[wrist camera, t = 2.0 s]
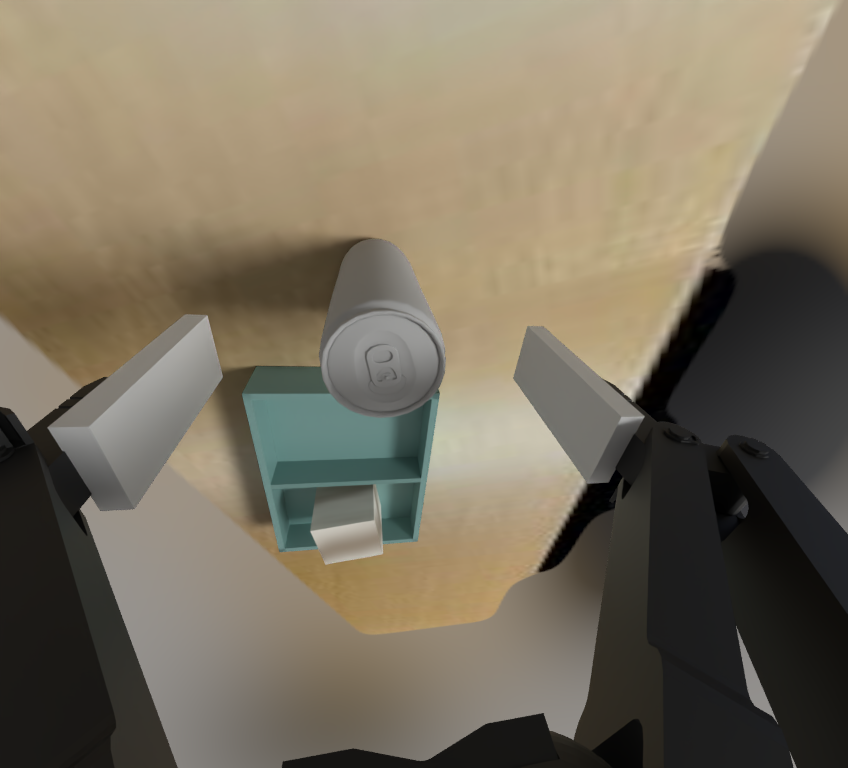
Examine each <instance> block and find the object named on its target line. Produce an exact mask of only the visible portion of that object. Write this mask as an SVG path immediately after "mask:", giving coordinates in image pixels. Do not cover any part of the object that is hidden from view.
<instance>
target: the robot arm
mask: <svg viewBox="0 0 848 768" xmlns="http://www.w3.org/2000/svg"><path fill="white" fill-rule="evenodd" d="M222 378H223V375H222V371H221V367H220V363H219V359H218V355H217V351H216V347H215V344H214V340H213V336H212V332H211V328H210V324H209V320H208V316H207V315H190V314H185V315H184V316H182V317H181V318H180V319H179V320H177V321H176V322H175V323H174V324H173V325H171V326H170V327H169V328H168V329H166V330H165V331H164V332H163V333H162V334H160V335H159V336H158V337H157V338H156V339H154V340H153V341H152V342H151V343H149V344H148V345H147V346H146V347H145V348H143V349H142V350H141V351H140V352H139V353H137V354H136V355H135V356H134V357H132V358H131V359H130V360H129V361H128V362H126V363H125V364H124V365H123V366H122V367H120V368H119V369H118V370H117V371H115V372H114V373H113V374H112V375H111V376H109V377H103V378H101V379H99V380H97V381H94V382H92V383H90V384H88V385H86V386H84V387H82V388H81V389H80V390H79V391H77V392H76V393H75V394H74V395H72V396H71V397H70V399H68V400H66V401H65V402H63V403H62V404H61V405H60V406H59V408H58V409H55V410H53V411H52V412H51V413H49V414H48V415H47V416H45V417H44V418H43V419H42V420H40V421H39V422H38V423H37V424H35V425H34V426H33V427H32V428H30V429H29V430H28V431H26V430H25V428H24V427H23V425H22V424H21V422H20V421H19V420H18V418H17V416H16V415H15V413H14V412H12V411H11V410H10V409H8V408H2V407H0V768H178V767H177V765H176V762H175V760H174V756H173V754H172V751H171V748H170V746H169V743H168V740H167V737H166V735H165V732H164V729H163V727H162V724H161V721H160V718H159V716H158V713H157V710H156V708H155V705H154V702H153V700H152V697H151V694H150V692H149V689H148V686H147V684H146V681H145V678H144V675H143V672H142V670H141V667H140V664H139V661H138V659H137V656H136V653H135V651H134V648H133V645H132V642H131V640H130V637H129V634H128V632H127V629H126V626H125V623H124V621H123V618H122V615H121V612H120V610H119V607H118V604H117V602H116V599H115V596H114V594H113V591H112V588H111V586H110V583H109V580H108V577H107V574H106V572H105V569H104V566H103V564H102V561H101V558H100V556H99V553H98V550H97V547H96V545H95V542H94V539H93V536H92V534H91V531H90V528H89V526H88V523H87V520H86V518H85V516H84V515H83V513H82V512H81V510H80V508H81V506H82V505H83V504H84V503H85V502H86V500H87V499H88V498H89V497H90V496H91V497H92V499H93V500H94V501H95V503H96V505H97V506H98V508H99V509H100V511H109V510H128V509H135V508H136V506H137V504H138V503H139V502H140V500H141V498H142V497H143V496H144V494H145V492H146V491H147V489H148V488H149V486H150V485H151V483H152V482H153V481H154V479H155V478H156V476H157V475H158V473H159V472H160V470H161V469H162V467H163V466H164V464H165V463H166V461H167V460H168V458H169V457H170V455H171V454H172V452H173V451H174V449H175V448H176V446H177V445H178V443H179V442H180V440H181V439H182V437H183V436H184V434H185V433H186V432H187V430H188V429H189V427H190V426H191V424H192V423H193V421H194V420H195V418H196V417H197V415H198V414H199V412H200V411H201V409H202V408H203V406H204V405H205V403H206V402H207V400H208V399H209V397H210V396H211V394H212V393H213V391H214V390H215V388H216V387H217V385H218V384H219V382H220V381H221V379H222ZM513 379H514V380H515V381H516V383H517V384H518V386H519V387H520V389H521V390H522V391H523V393H524V394H525V396H526V397H527V398H528V400H529V401H530V403H531V404H532V406H533V407H534V408H535V410H536V411H537V413H538V414H539V415H540V417H541V418H542V420H543V421H544V422H545V424H546V425H547V427H548V428H549V430H550V431H551V432H552V434H553V435H554V437H555V438H556V439H557V441H558V442H559V444H560V445H561V447H562V448H563V449H564V451H565V452H566V454H567V455H568V456H569V458H570V459H571V461H572V462H573V463H574V465H575V466H576V468H577V469H578V471H579V472H580V473H581V475H582V476H583V478H584V479H585V480H586V482H587V483H604V482H609V480H610V478H611V476H612V475H613V473H614V471H615V469H617V470H618V472H619V473H620V474H621V475H622V476H623V479H622V480H621V482H620V484H619V485H618V487H617V489H616V491H615V492H614V494H613V496H612V497H611V499H610V502H612V503H613V502H614V501H615V499H616V506H615V513H614V520H613V527H612V534H611V541H610V548H609V555H608V561H607V568H606V575H605V583H604V589H603V596H602V603H601V611H600V617H599V625H598V631H597V638H596V645H595V652H594V659H593V666H592V673H591V680H590V687H589V693H588V699H587V702H586V705H585V708H584V711H583V713H582V715H581V718H580V720H579V723H578V726H577V729H576V733H575V737H574V740H572V739H570V738H568V737H566V736H563V735H561V734H558V733H555V732H553V731H549V728H548V725H547V722H546V719H545V716H544V713H542V714H536V715H531V716H526V717H520V718H515V719H510V720H504V721H499V722H493V723H488V724H485V725H483V726H482V727H480V728H479V729H477V730H476V731H474V732H472V733H471V734H469V735H468V736H466V737H464V738H463V739H461V740H460V741H458V742H456V743H455V744H453V745H452V746H450V747H448V748H447V749H445V750H444V751H442V752H440V753H439V754H437V755H436V756H434V757H432V758H431V759H429V760H426V761H416V760H410V759H406V758H400V757H395V756H390V755H385V754H379V753H374V752H369V751H364V750H359V749H348V750H343V751H337V752H332V753H327V754H322V755H316V756H311V757H306V758H300V759H295V760H289V761H284V762H283V764H282V768H793V764H792V760H791V756H790V753H791V755H792V758H793V760H794V762H795V764H796V767H797V768H848V534H847V533H846V532H845V531H844V529H843V528H842V527H841V526H840V525H839V523H838V522H837V521H836V520H835V519H834V518H833V517H832V515H831V514H830V513H829V512H828V511H827V510H826V509H825V507H824V506H823V505H822V504H821V503H820V501H819V500H818V499H817V498H816V497H815V496H814V494H813V493H812V492H811V491H810V490H809V489H808V488H807V486H806V485H805V484H804V483H803V482H802V481H801V480H800V478H799V477H798V476H797V475H796V474H795V472H794V471H793V470H792V469H791V468H790V467H789V466H788V464H787V463H786V462H785V461H784V460H783V458H781V456H780V455H778V454H777V453H776V452H775V451H774V450H773V449H771V448H770V447H768V446H766V444H764V443H762V442H760V441H759V442H758V440H756V439H753V438H748V437H745V436H739V435H731V436H728V438H727V439H726V440H725V441H724V443H723V444H722V446H721V447H719V446H713V445H708V444H703V443H702V441H701V440H700V439H699V438H698V437H697V436H696V435H695V434H694V433H692V432H690V431H689V430H687V429H685V428H683V427H681V426H678V425H676V424H672V423H668V422H658V423H657V422H656V421H655V420H654V419H653V418H652V417H651V416H649V415H648V414H647V413H646V412H645V411H644V410H642V409H641V408H640V407H639V406H638V405H637V404H636V403H634V402H632V400H631V399H630V398H629V397H628V396H626V395H624V393H623V392H622V391H621V390H619V389H618V388H617V387H616V386H615V385H613V384H611V383H610V382H608V381H606V380H604V379H602V378H601V377H600V376H599V375H597V374H596V373H595V372H594V371H593V370H592V369H591V368H590V367H588V366H587V365H586V364H585V363H584V362H583V361H582V360H581V359H579V358H578V357H577V356H576V355H575V354H574V353H573V352H572V351H570V350H569V349H568V348H567V347H566V346H565V345H564V344H563V343H561V342H560V341H559V340H558V339H557V338H556V337H555V336H554V335H552V334H551V333H550V332H549V331H548V330H547V329H546V328H544V327H543V326H527V330H526V334H525V337H524V341H523V345H522V348H521V352H520V356H519V359H518V363H517V366H516V370H515V374H514V377H513ZM747 503H748V505H749V510H748V514H747V516H746V518H745V517H744V516H743V514H742V513H741V509H742V508H743V507H744V506H745V505H746V504H747ZM736 626H737V629H738V631H739V633H740V636H741V638H742V640H743V643H744V645H745V647H746V650H747V652H748V654H749V657H750V659H751V661H752V664H753V666H754V668H755V670H756V673H757V675H758V678H759V680H760V683H761V685H762V687H763V689H764V692H765V694H766V697H767V699H768V701H769V703H770V706H771V708H772V711H773V713H774V715H775V718H776V720H777V722H778V724H777V722H776V721H775V720H774V718H773V717H772V716H771V715H769V714H767V713H766V712H764V711H762V710H760V709H759V708H757V707H755V706H754V704H753V703H752V701H751V700H750V697H749V693H748V690H747V685H746V679H745V674H744V668H743V662H742V657H741V652H740V646H739V640H738V635H737V629H736Z"/></svg>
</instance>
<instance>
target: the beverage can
mask: <svg viewBox="0 0 848 768" xmlns="http://www.w3.org/2000/svg"><path fill="white" fill-rule="evenodd" d="M319 358H320V364H321V372H322V378H323V381H324V383H325V385H326V387H327V389H328V391H329V393H330V394H331V395H332V396H333V397H334V398H335V399H336V400H337V401H338V402H339V403H340V404H341V405H343V406H344V407H346V408H347V409H349V410H351V411H353V412H355V413H358V414H361V415H364V416H369V417H376V418H386V417H396V416H399V415H403V414H407V413H409V412H411V411H413V410H415V409H417V408H419V407H421V406H422V405H423V404H424V403H426V402H427V401H428V400H429V399H430V398H431V397H432V396H433V395H434V393H435V392H436V391H437V389H438V388H439V387H440V384H441V382H442V379H443V376H444V374H445V362H446V358H445V347H444V342H443V338H442V334H441V331H440V329H439V327H438V325H437V322H436V320H435V318H434V316H433V313H432V311H431V309H430V307H429V305H428V303H427V301H426V298H425V296H424V294H423V292H422V290H421V288H420V285H419V283H418V281H417V278H416V276H415V274H414V271H413V269H412V267H411V264H410V262H409V261H408V259H407V257H406V256H405V254H404V253H403V252H402V251H401V250H400V249H399V248H398V247H397V246H395V245H394V244H392V243H391V242H389V241H385V240H382V239H367V240H364V241H361V242H359V243H357V244H356V245H354V246H353V247H351V249H350V250H349V251H348V252H347V254H346V255H345V257H344V259H343V261H342V263H341V267H340V271H339V275H338V278H337V281H336V284H335V287H334V291H333V294H332V298H331V302H330V306H329V310H328V314H327V318H326V322H325V326H324V330H323V334H322V338H321V345H320V352H319Z"/></svg>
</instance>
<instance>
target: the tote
mask: <svg viewBox="0 0 848 768" xmlns="http://www.w3.org/2000/svg"><path fill="white" fill-rule="evenodd" d="M439 395H440V393H439V390H438V389H437V391H436V392H435V393H434V395H433V396H432V397H431V398H430V399H429V400H428V401H427V402H426V403H424V404H423V405H422V406H421V407H419V408H417V409H415V410H413V411H411V412H409V413H407V414H403V415H399V416H396V417H386V418H376V417H369V416H364V415H361V414H358V413H355V412H353V411H351V410H349V409H347V408H346V407H344V406H343V405H341V404H340V403H339V402H338V401H337V400H336V399H335V398H334V397H333V396H332V395H331V394H330V393H329V391H328V389H327V387H326V385H325V383H324V381H323V378H322V372H321V367H284V366H256V368H255V370H254V372H253V374H252V376H251V377H250V379H249V381H248V383H247V385H246V387H245V389H244V391H243V393H242V397H243V401H244V405H245V409H246V413H247V418H248V422H249V426H250V430H251V434H252V439H253V443H254V447H255V451H256V455H257V460H258V464H259V468H260V472H261V476H262V481H263V485H264V489H265V493H266V497H267V502H268V506H269V510H270V514H271V518H272V523H273V527H274V531H275V535H276V539H277V544H278V548H279V552H287V551H300V550H313V549H318V547H317V545H316V543H315V540H314V538H313V536H312V534H311V532H310V529H311V523H312V516H313V509H314V503H315V496H316V489H317V487H331V486H352V485H373V484H376V487H377V491H378V495H379V500H380V504H381V519H382V541H383V544H390V543H403V542H415V541H418V535H419V528H420V521H421V515H422V508H423V501H424V495H425V488H426V482H427V475H428V468H429V462H430V455H431V448H432V442H433V435H434V428H435V422H436V415H437V408H438V402H439Z"/></svg>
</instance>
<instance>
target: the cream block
mask: <svg viewBox="0 0 848 768" xmlns="http://www.w3.org/2000/svg"><path fill="white" fill-rule="evenodd" d="M310 532H311V534H312V536H313V538H314V540H315V543H316V545H317V547H318V549H319V551H320V554H321V556H322V558H323V560H324V562H325V564H331V563H337V562H342V561H348V560H353V559H359V558H364V557H370V556H375V555H381V554H383V541H382V519H381V504H380V500H379V495H378V491H377V487H376V484H373V485H352V486H331V487H317V489H316V496H315V503H314V509H313V516H312V523H311V529H310Z"/></svg>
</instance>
